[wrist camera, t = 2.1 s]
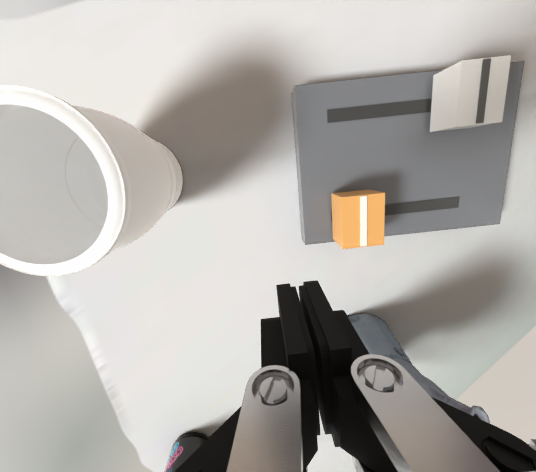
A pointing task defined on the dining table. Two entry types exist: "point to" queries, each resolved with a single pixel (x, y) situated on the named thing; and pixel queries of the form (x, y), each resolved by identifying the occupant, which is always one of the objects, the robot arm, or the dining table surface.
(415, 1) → the dining table surface
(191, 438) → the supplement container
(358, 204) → the orange fader
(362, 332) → the moka pot
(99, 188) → the jar
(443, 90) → the block
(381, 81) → the console
